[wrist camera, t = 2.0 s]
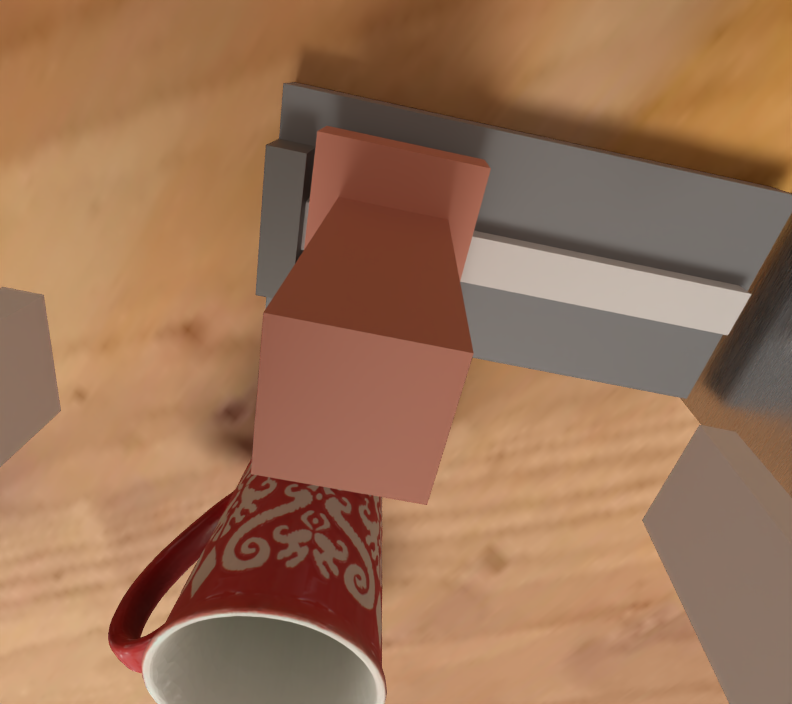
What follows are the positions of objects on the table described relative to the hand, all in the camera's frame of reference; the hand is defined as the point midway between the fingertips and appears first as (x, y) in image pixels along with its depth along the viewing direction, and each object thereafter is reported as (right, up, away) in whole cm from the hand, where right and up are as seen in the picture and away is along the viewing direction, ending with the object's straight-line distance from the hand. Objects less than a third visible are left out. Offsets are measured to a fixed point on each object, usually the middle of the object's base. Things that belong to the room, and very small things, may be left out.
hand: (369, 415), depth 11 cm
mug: (-5, -5, +21) cm, 22 cm away
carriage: (0, +6, +11) cm, 12 cm away
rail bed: (+6, +6, +14) cm, 16 cm away
